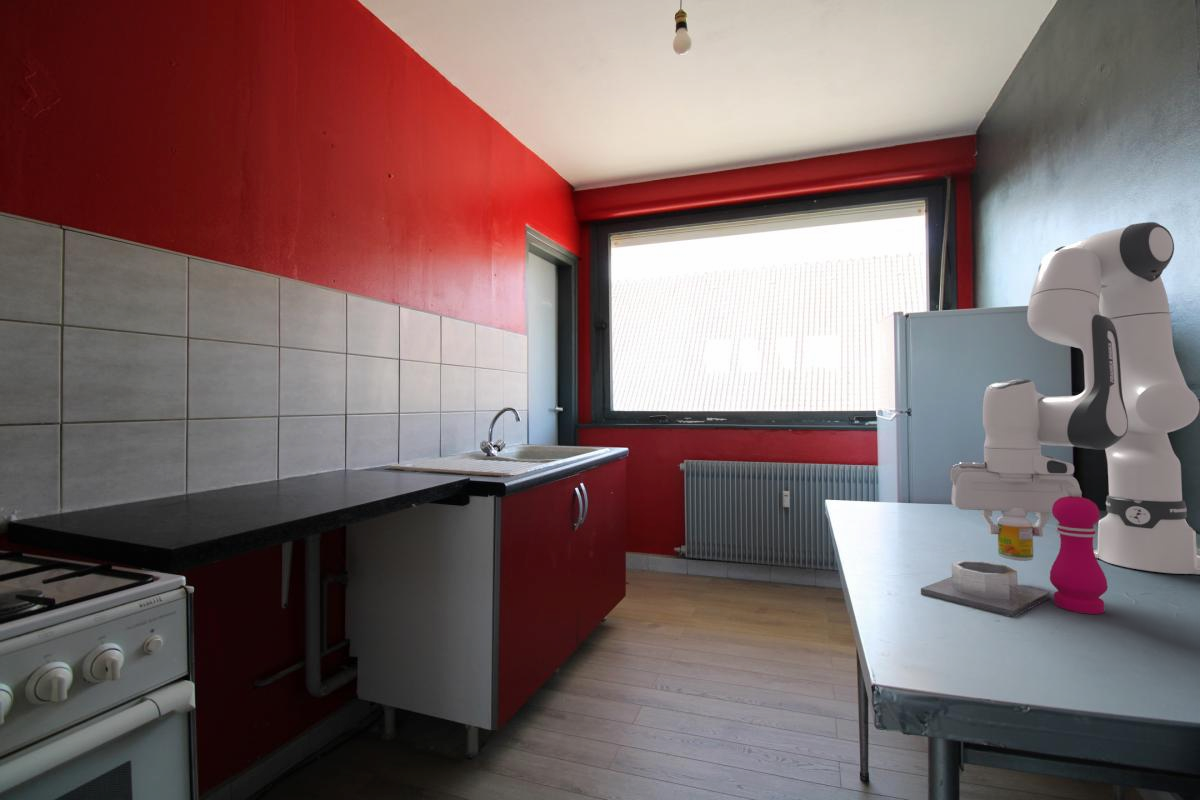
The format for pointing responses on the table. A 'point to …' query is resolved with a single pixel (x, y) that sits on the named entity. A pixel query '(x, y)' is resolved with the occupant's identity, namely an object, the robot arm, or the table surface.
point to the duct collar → (986, 588)
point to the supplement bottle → (1015, 535)
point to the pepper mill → (1077, 556)
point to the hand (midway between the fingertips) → (1014, 534)
